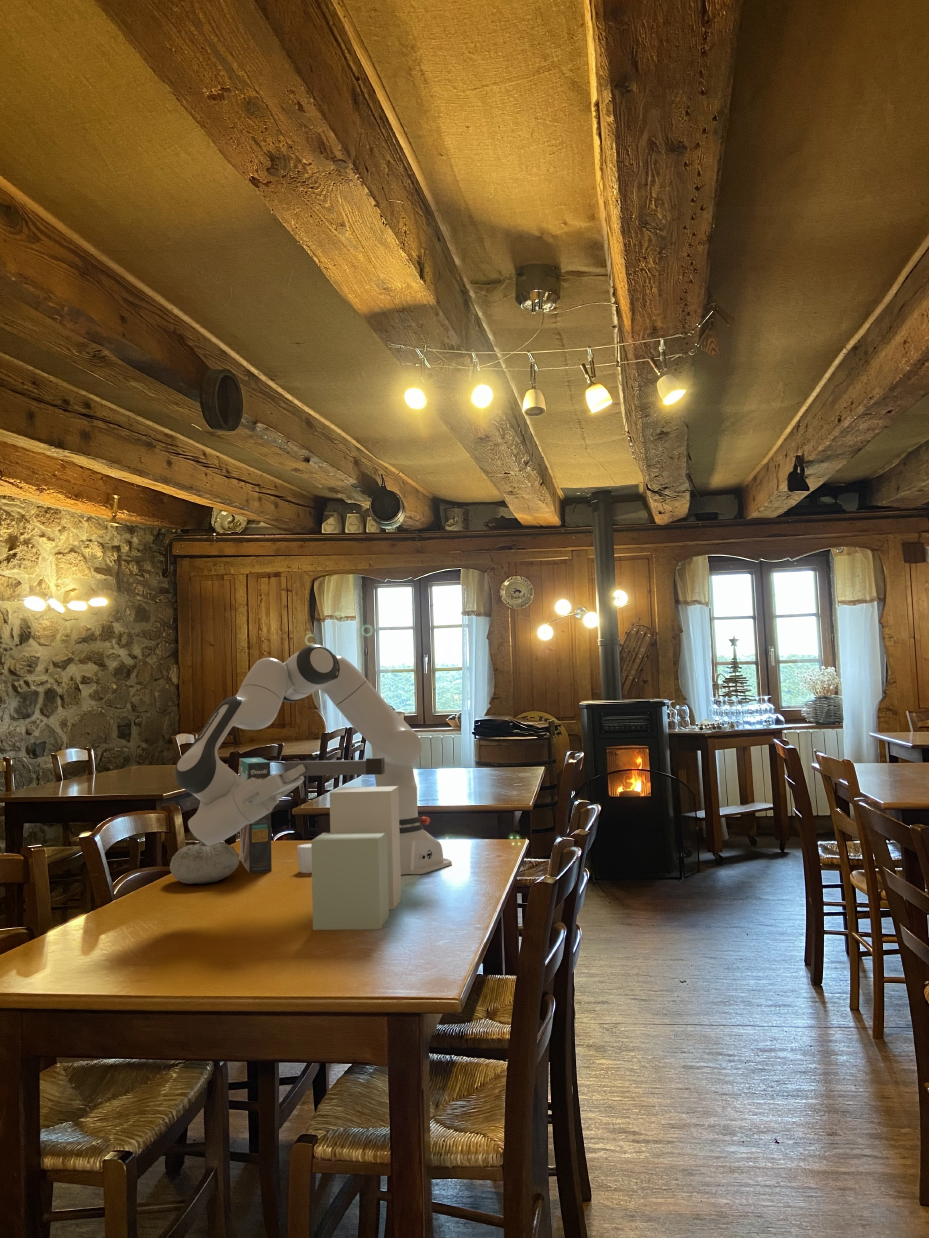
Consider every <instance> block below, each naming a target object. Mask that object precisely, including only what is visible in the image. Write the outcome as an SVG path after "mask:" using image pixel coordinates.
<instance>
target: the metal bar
mask: <svg viewBox="0 0 929 1238" xmlns="http://www.w3.org/2000/svg"><path fill="white" fill-rule="evenodd" d="M301 764H304V765H305V767H306V769H307V770H306V771H305V772H304V773H302V774H300V775H299V776H303V777H306V776H307V777H308V776H310V777H313V776H360V775H361V776H364V775H367V776H369V775H370V776H371V775H373V776H375V775H382V774H384V773H385V762H384V757H374V758H373V757H367V758H365V759H354V760H353V759H352V760H351V759H349V760H345V759H344V760H341V759H339V760H299V761H298V760H294V761H293V760H292V761H291V760H289V761H285V762H284V771H285V773H286V772H288V771H290V770H292V769H294V768H296V767H297V766H299V765H301Z"/></svg>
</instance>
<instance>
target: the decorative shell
mask: <svg viewBox="0 0 929 1238" xmlns="http://www.w3.org/2000/svg"><path fill="white" fill-rule="evenodd" d="M240 862H241V860H240V852H237V850H236V849H235V846H231V845H230V844H228V843H227V842H226V843H225V842H223V841H222V842H219V843H217V844H214V845H211V846H207V845H204V844H202V843H201V842H200V843H196V844H190V845H185V846H184V847H182V848H180V849H178V851H176V853H174V854H173V856H172V857H171V860H170V864H169V870H170V872H171V875H172V876H173V877H174V878H175V879H176V880H177V881H179V882H181V883H183V884H186V885H187V884H188V885H192V884H193V885H194V884H198V885H199V884H200V885H204V884H208V883H215V882H217V881H221V880H223V879H225V878H226V877H229V876H230V875H232V874H233V873H234V872H235V870H236V869H237V868H238V867H239V865H240Z"/></svg>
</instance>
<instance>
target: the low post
mask: <svg viewBox="0 0 929 1238" xmlns="http://www.w3.org/2000/svg"><path fill="white" fill-rule="evenodd" d="M311 849H312V873H311V885H312V886H311V887H312V888H311V891H312V892H311V893H312V895H311V898H312V903H311V904H312V930H313V931H332V930H333V931H335V930H336V931H337V930H338V931H339V930H341V931H342V930H343V931H344V930H346V931H348V930H357V931H358V930H381V929H382V928H383V926H384V925H385V923H387V921H388V919H389V918H390V910H389V896H388V856H387V832H339V833H330V832H322V833H320V834H319V835H318V836H316V837H314V838H313V839H311Z"/></svg>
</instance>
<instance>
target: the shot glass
mask: <svg viewBox="0 0 929 1238" xmlns="http://www.w3.org/2000/svg"><path fill="white" fill-rule="evenodd" d="M296 848H297V849H296V850H297V858H298V866H299V867H298V868H299V873H302V874H312V849H311V843H310V842H309V843H301V844H298V845H297V846H296Z"/></svg>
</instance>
